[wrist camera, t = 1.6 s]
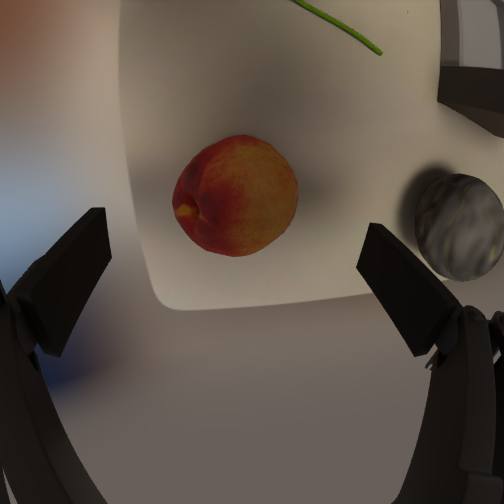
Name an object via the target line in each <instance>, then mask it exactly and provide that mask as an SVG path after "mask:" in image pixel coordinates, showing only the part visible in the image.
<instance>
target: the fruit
mask: <svg viewBox="0 0 504 504" xmlns="http://www.w3.org/2000/svg"><path fill="white" fill-rule="evenodd" d="M297 203H298V184H297V180H296V178H295V175H294V172H293V170H292V169H291V167H290V165H289V164H288V162H287V161H286V160H285V158H284V157H283V156H282V155H280V154H279V153H278V152H277V151H276V150H275V149H274V148H273V147H272V146H271V145H270V144H268V143H266V142H264V141H262V140H259V139H257V138H254V137H251V136H246V135H239V136H233V137H229V138H226V139H224V140H221V141H219V142H217V143H215V144H213V145H211V146H209V147H207V148H205V149H203V150H202V151H201V152H200V153H198V154H197V155H196V156H195V157H194V158H193V159H192V160H191V162H190V163H189V164H188V165H187V166H186V168H185V169H184V170H183V172H182V174H181V176H180V177H179V179H178V181H177V184H176V187H175V190H174V193H173V200H172V205H173V209H174V213H175V217H176V219H177V221H178V222H179V224H180V225H181V227H182V228H183V230H184V231H185V233H186V234H187V235H188V236H189V237H190V239H191V240H192V241H194V242H195V243H196V244H197V245H199V246H200V247H201V248H203V249H204V250H206V251H209V252H213V253H217V254H222V255H227V256H232V257H238V256H246V255H250V254H253V253H255V252H257V251H259V250H261V249H263V248H264V247H266V246H267V245H269V244H270V243H271V242H273V241H274V240H275V239H277V238H278V237H279V236H280V235H281V234H283V233H284V232H285V230H286V229H287V228H288V226H289V225H290V223H291V221H292V219H293V217H294V215H295V211H296V207H297Z"/></svg>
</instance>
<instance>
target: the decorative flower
mask: <svg viewBox="0 0 504 504" xmlns="http://www.w3.org/2000/svg"><path fill="white" fill-rule="evenodd" d="M295 1H296V2H298V3H299V4H300V5H302V6H303V7H305V8H307V9H309V10H311V11H312V12H314V13H316V14H318V15H319V16H321V17H323V18H325V19H327V20H328V21H330V22H332V23H334V24H336V25H337V26H339V27H341V28H343V29H344V30H346V31H348V32H349V33H351V34H352V35H354V36H355V37H357V38H358V39H360V40H361V41H362V42H364V43H365V44H366V45H368V46H369V47H370V48H371V49H373V50H374V51H375V52H376V53H378V54H379V55H382V54H383V52H382V51H381V50H380V49H378V48H377V47H376V46H375V45H373V44H372V43H371V42H370V41H368V40H367V39H366V38H364V37H363V36H362V35H360V34H359V33H357V32H356V31H354V30H353V29H351V28H350V27H348V26H346V25H345V24H343V23H341V22H339V21H338V20H336V19H334V18H332V17H331V16H329V15H327V14H325V13H323V12H321V11H320V10H318V9H316V8H315V7H313V6H311V5H309V4H307V3H305V2H304V1H303V0H295Z"/></svg>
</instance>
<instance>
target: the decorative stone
mask: <svg viewBox="0 0 504 504" xmlns="http://www.w3.org/2000/svg"><path fill="white" fill-rule="evenodd" d="M415 236H416V240H417V243H418V247H419V250H420V253H421V254H422V256H423V258H424V259H425V260H426V261H427V263H428V264H429V265H430V266H431V268H432V269H433V270H434V271H435V272H436V273H438V274H439V275H441V276H443V277H445V278H448V279H451V280H454V281H460V282H464V281H470V280H475V279H478V278H480V277H482V276H483V275H485V274H487V273H488V272H489V271H490V270H491V269H492V268H493V267H494V266H495V265H496V263H497V262H498V261H499V259H500V257H501V255H502V253H503V250H504V209H503V206H502V204H501V202H500V199H499V198H498V197H497V195H496V194H495V193H494V191H493V190H492V189H491V188H490V187H489V186H488V185H487V184H486V183H485V182H483V181H482V180H480V179H478V178H476V177H473V176H469V175H465V174H452V175H448V176H445V177H442V178H440V179H438V180H437V181H436V182H434V183H433V184H432V185H431V186H430V187H429V188H428V189H427V190H426V192H425V193H424V194H423V196H422V198H421V200H420V202H419V204H418V207H417V211H416V215H415Z"/></svg>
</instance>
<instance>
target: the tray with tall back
mask: <svg viewBox="0 0 504 504" xmlns="http://www.w3.org/2000/svg"><path fill="white" fill-rule="evenodd" d="M440 5H441V27H442V44H441V69H440V81H439V91H438V100H437V101H438V102H440V103H442V104H444V105H446V106H448V107H450V108H452V109H453V110H455V111H457V112H459V113H460V114H462V115H464V116H465V117H467V118H469V119H470V120H472V121H474V122H475V123H477V124H478V125H480V126H481V127H483V128H484V129H486V130H487V131H489V132H490V133H492V134H493V135H495V136H498V137H501V138H504V0H440Z"/></svg>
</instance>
